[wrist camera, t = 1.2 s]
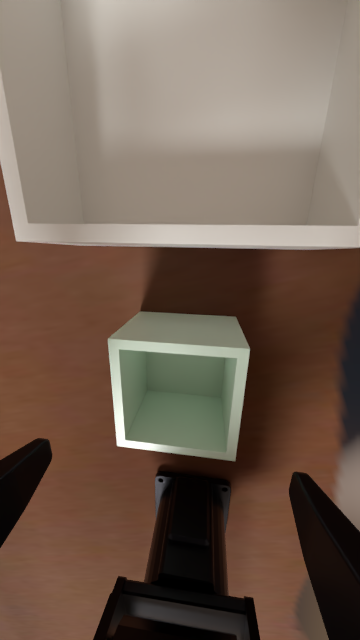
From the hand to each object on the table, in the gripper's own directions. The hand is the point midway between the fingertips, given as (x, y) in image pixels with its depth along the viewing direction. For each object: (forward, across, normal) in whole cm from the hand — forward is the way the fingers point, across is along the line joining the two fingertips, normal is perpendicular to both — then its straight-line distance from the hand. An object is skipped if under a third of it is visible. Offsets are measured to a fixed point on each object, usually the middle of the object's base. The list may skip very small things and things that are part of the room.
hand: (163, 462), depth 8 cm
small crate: (+8, 0, 0) cm, 8 cm away
